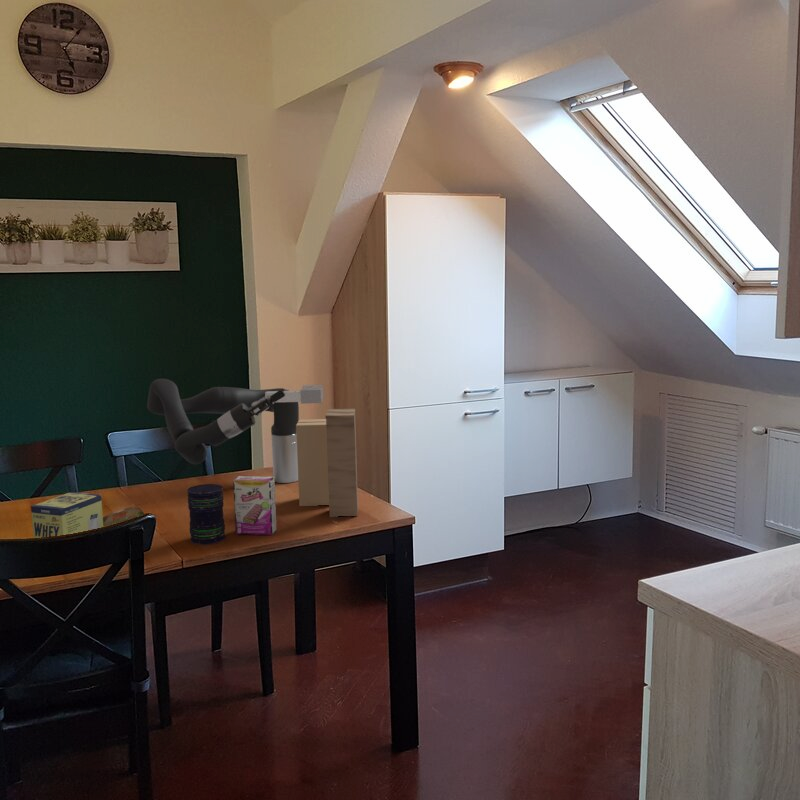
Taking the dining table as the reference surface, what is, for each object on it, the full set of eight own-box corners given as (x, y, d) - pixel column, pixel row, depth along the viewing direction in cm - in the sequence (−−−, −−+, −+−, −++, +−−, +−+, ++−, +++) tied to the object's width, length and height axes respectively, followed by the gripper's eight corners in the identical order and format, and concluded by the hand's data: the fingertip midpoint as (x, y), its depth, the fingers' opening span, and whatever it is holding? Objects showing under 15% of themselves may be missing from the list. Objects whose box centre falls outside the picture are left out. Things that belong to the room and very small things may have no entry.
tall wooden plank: (331, 508, 266) (328, 409, 261) (358, 507, 267) (355, 408, 261) (329, 519, 255) (325, 415, 249) (357, 518, 255) (354, 415, 250)
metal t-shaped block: (268, 399, 259) (267, 386, 259) (323, 397, 260) (322, 384, 259) (264, 404, 250) (263, 391, 249) (321, 403, 250) (320, 389, 249)
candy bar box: (235, 535, 241) (232, 479, 239) (240, 529, 246) (237, 475, 244) (273, 535, 240) (270, 480, 238) (277, 530, 245) (274, 475, 243)
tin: (105, 547, 234) (102, 518, 232) (97, 545, 235) (95, 516, 234) (147, 532, 246) (145, 504, 245) (139, 530, 248) (137, 503, 246)
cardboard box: (302, 497, 279) (299, 419, 275) (338, 496, 279) (335, 418, 275) (299, 506, 269) (296, 425, 265) (336, 505, 269) (333, 424, 265)
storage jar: (193, 534, 243) (190, 484, 240) (227, 533, 243) (224, 483, 241) (187, 546, 233) (184, 494, 230) (223, 544, 234) (220, 492, 231)
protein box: (34, 562, 222) (29, 505, 220) (77, 544, 237) (72, 490, 234) (65, 566, 219) (60, 509, 216) (106, 547, 233) (102, 493, 230)
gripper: (246, 426, 263) (293, 398, 262) (239, 435, 249) (288, 405, 248) (233, 406, 261) (280, 378, 260) (225, 414, 248) (274, 384, 247)
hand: (283, 391), depth 254 cm, fingers closed on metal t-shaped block, 3 cm apart
